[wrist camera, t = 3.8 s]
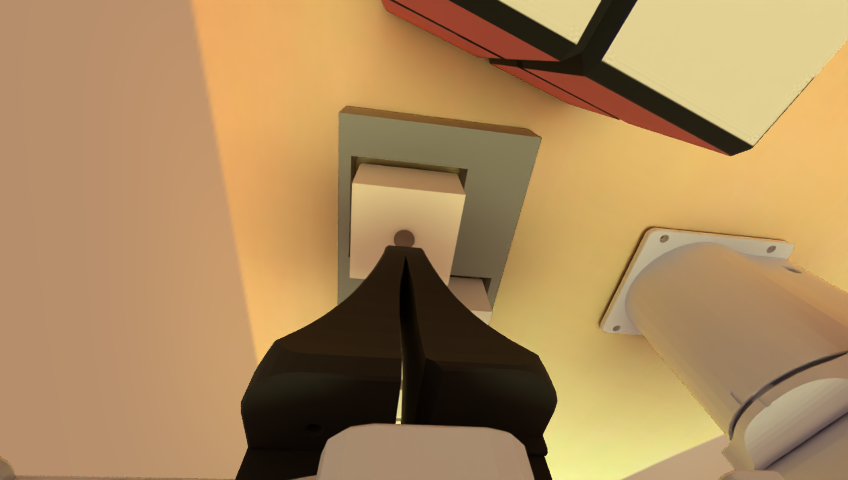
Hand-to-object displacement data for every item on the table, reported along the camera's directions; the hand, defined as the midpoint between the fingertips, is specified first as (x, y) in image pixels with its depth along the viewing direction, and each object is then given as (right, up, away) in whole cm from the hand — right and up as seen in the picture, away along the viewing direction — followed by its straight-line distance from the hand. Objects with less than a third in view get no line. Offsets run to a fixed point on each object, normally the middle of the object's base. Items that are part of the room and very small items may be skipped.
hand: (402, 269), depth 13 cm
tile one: (0, +2, +5) cm, 5 cm away
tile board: (0, -2, +9) cm, 9 cm away
